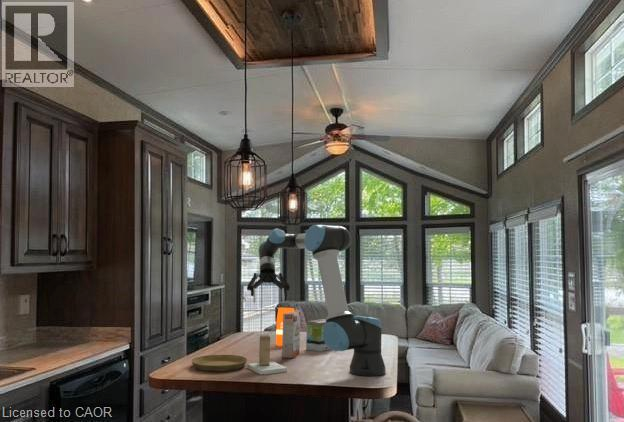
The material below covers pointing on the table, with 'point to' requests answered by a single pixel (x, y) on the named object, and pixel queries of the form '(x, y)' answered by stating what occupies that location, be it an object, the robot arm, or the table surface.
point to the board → (267, 368)
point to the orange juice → (280, 324)
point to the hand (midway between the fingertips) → (269, 300)
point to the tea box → (316, 335)
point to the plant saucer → (219, 362)
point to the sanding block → (264, 350)
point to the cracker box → (291, 334)
